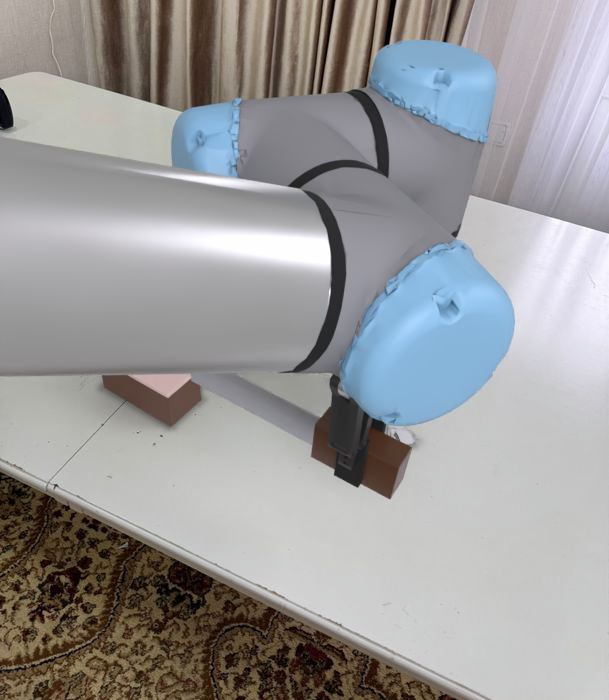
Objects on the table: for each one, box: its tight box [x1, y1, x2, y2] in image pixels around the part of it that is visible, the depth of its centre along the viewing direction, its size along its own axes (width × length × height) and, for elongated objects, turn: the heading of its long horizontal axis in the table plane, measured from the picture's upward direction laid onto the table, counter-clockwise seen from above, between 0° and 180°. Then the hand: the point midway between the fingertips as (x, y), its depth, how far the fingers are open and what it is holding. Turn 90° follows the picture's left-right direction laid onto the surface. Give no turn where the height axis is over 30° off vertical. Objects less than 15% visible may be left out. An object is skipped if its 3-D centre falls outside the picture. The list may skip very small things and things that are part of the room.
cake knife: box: [191, 373, 413, 500], centre depth 63 cm, size 26×3×5 cm, turn 58°
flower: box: [385, 425, 418, 446], centre depth 80 cm, size 8×8×3 cm
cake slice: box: [101, 374, 202, 428], centre depth 82 cm, size 6×12×6 cm, turn 57°
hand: (356, 466), depth 62 cm, fingers closed on cake knife, 3 cm apart
